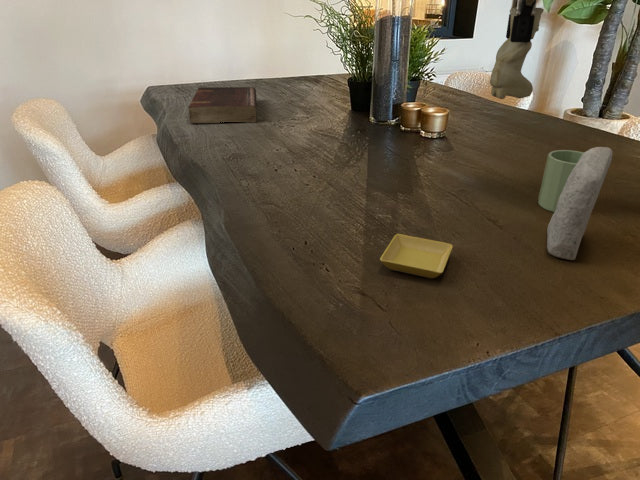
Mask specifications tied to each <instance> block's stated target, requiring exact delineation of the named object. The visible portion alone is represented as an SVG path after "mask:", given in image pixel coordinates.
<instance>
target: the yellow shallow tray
mask: <svg viewBox="0 0 640 480" xmlns="http://www.w3.org/2000/svg"><path fill="white" fill-rule="evenodd" d="M453 248H454V245H453V244H451V243H449V242H443V241H438V240H432V239H428V238H422V237H417V236H411V235H406V234H403V233H402V234H401V233H396V234H395V235H393V238H392V239H391V240H390V242H389V244H388V245H387V247H386V248H385V250H384V251H383V253H382V255H381V256H380V258H379V260H380V262H381V263H382V264H383V265H384V266H385V267H387V268H388V269H389V270H391V271H396V272H401V273H405V274H409V275H415V276H419V277H423V278H427V279H435V278H437V277H439V276H441V275H442V274H443V273H444V270H445V268H446V265H447V263H448V260H449V258H450V255H451V254H452V253H451V252H452V251H453Z"/></svg>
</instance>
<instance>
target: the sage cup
mask: <svg viewBox="0 0 640 480" xmlns="http://www.w3.org/2000/svg"><path fill="white" fill-rule="evenodd" d="M583 153H585V152H584V151H578V150H573V149H572V150H571V149H560V150H559V149H558V150H557V149H556V150H552V151H550V152H549V153H548V154H547V158H546V162H545V167H544V170H543V176H542V180H541V186H540V188H539V193H538V200H537V202H538V205H539V206H540V207H541V208H543V209H544V210H547V211H550V212H553V213H555V211H556V208H557V203H558V200H559V197H560V195H561V193H562V191H563V188H564V186H565V184H566V182H567V179H568V177H569V175H570V174H571V172H572V170H573V168H574V167H575V165H576V164H577V162H578V161H579V159H580V157H581V156H582V154H583Z"/></svg>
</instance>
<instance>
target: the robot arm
mask: <svg viewBox="0 0 640 480" xmlns="http://www.w3.org/2000/svg"><path fill="white" fill-rule="evenodd" d="M537 2H538V1H537V0H511V6H510V9H512V8H515V7H517V10H516V16H514V18H513V25H512V31H511V38H510V41H511V42H530V41H531V42H532V39H531V36H532V30H533V25H534V19H535V16H534V15H535V9H536V8H537ZM510 20H511V14H510V13H508V20H507V28H506V32H505V33H506V34H505V38H506V40H507V39H509V37H510Z"/></svg>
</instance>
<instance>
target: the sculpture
mask: <svg viewBox="0 0 640 480" xmlns="http://www.w3.org/2000/svg"><path fill="white" fill-rule="evenodd" d="M516 10H517V7H515V8H512V9H511V8H510V9H509V14H511V20H510V37H509V39H507V38H506V40H505V41H504V42H503V43H502V44H501V46H500V47H499V48H498V50H497V52H496V55H495V56H496V57H495V62H494V66H493V68H492V71H491V74H490V79H489V85H490V86H491V91H490V95H491V96H492V97H494V98H497V99H500V100H504V99H506V97H512V98H516V99H524V98H528V97H530V96H531V95H532V93H533V91H534V90H533V89H534V88H533V83H532V82H531V81H530V80H528V78H527V77H525V76H524V74H523V73H522V68H523V65H524V63H525V60H526V58H527V55H528V54H529V52H530V50H531V49H532V47H533V43H532V40H534V38H535V35H536V33H537V32H539V30H540V23H541V22H540V21H541V18H542V14H543V13H544V11H545V10H544V8H542V7H536V9H535V15H534V16H535V19H534V25H533V30H532V36H531V41H530V42H511V41H510V38H511V31H512V25H513V18H514V16H516Z"/></svg>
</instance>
